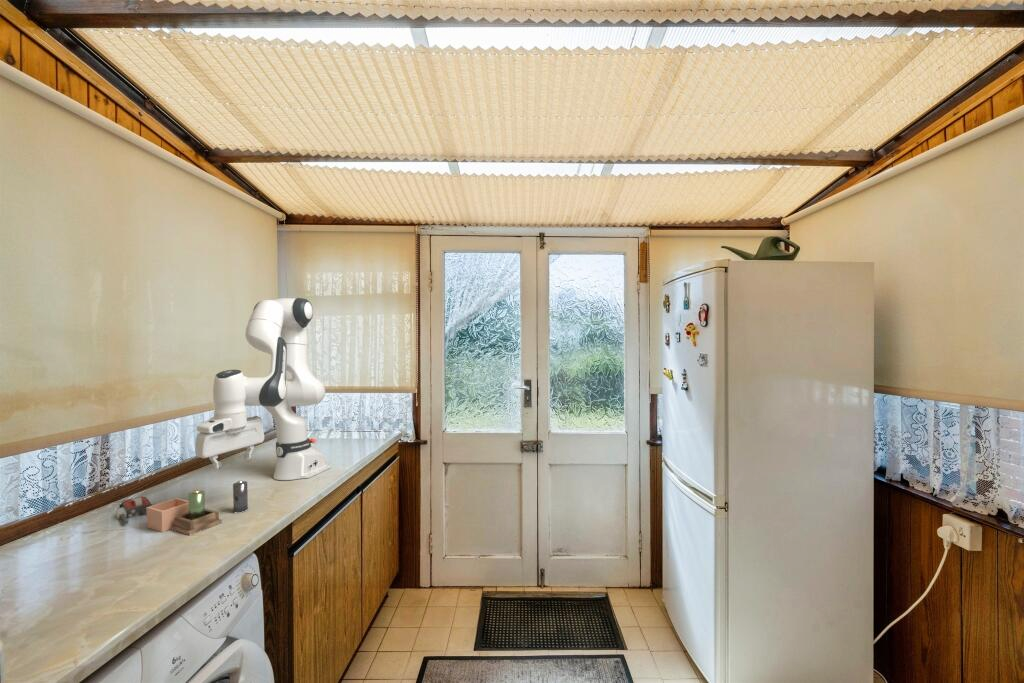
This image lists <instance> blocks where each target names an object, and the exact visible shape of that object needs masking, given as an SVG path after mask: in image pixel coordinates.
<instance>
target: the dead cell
mask: <svg viewBox="0 0 1024 683" xmlns="http://www.w3.org/2000/svg"><path fill="white" fill-rule="evenodd" d="M248 491H249V490H248V481H246V480H237V481H236V482H234V483H233V484H232V500H233V501H232V503H233V506H232V507H233V513H234V512H242V511H245V510H247V509H248V510H249V497H248V495H249V494H248ZM248 510H247V511H248ZM245 512H246V511H245ZM242 513H243V512H242Z"/></svg>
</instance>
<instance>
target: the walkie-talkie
mask: <svg viewBox="0 0 1024 683" xmlns="http://www.w3.org/2000/svg"><path fill="white" fill-rule="evenodd" d="M152 505H153V503H152V502H151V501H150V500H149V499H148V498H147V497H146V496H144V495H143V496H135V497H131V498H127V499H125V500H123V501H121V503H120V504H119V508H118V509H116V510H115V513H116V514H115V516H116V520H117V521H118V520H121V521H122V522H123V524H128V523H129V521H128V518H133V517H137V515H138V516H141V515H147V511H146V507H149V506H152Z"/></svg>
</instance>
